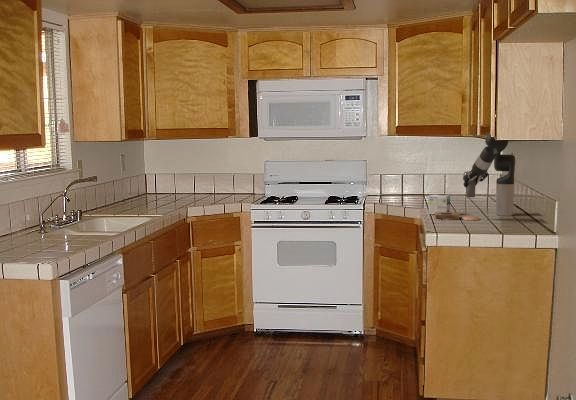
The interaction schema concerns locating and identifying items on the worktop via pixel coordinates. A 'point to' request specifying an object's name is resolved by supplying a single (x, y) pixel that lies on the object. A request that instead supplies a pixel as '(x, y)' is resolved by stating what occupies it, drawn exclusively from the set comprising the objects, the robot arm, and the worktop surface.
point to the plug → (471, 188)
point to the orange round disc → (470, 218)
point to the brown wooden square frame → (447, 215)
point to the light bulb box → (439, 203)
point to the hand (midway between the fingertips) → (469, 185)
